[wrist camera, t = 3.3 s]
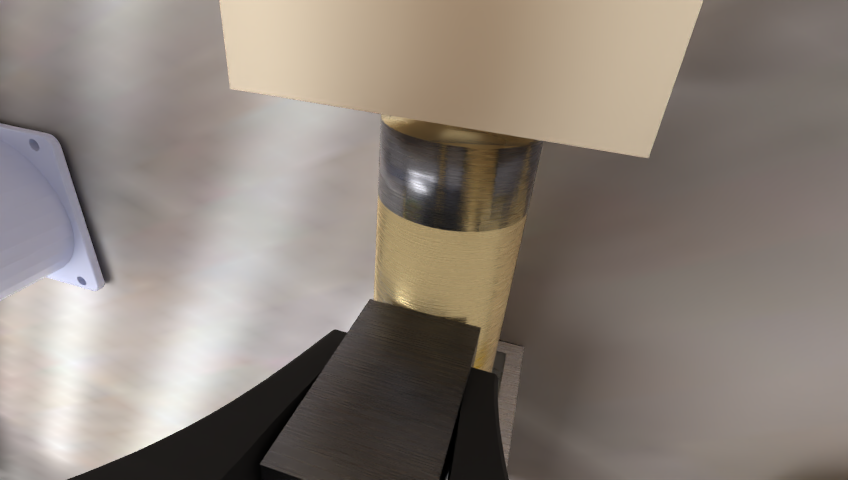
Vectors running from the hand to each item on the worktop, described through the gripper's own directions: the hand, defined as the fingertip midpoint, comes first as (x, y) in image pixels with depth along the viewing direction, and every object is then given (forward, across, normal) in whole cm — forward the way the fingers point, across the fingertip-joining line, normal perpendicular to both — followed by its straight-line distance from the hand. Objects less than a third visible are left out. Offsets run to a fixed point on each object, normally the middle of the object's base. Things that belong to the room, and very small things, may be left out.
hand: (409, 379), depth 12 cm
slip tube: (+5, 0, +2) cm, 5 cm away
